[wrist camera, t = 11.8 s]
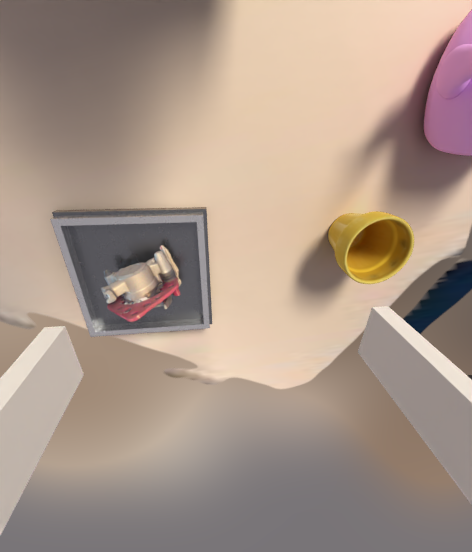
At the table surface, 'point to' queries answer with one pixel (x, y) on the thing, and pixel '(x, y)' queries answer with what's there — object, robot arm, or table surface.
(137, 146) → the table surface
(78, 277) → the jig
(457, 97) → the teapot
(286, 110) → the table surface
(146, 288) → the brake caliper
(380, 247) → the plant pot
